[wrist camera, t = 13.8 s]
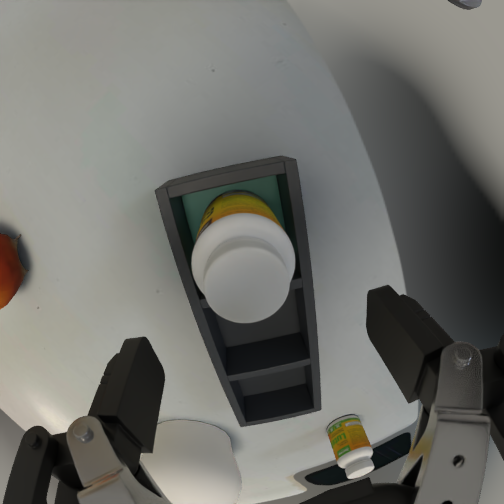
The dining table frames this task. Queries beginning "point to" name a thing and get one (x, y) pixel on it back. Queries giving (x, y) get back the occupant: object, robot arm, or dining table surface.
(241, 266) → the supplement bottle
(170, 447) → the vase
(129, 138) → the dining table surface
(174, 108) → the dining table surface
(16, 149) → the dining table surface
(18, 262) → the fruit
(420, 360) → the robot arm
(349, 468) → the supplement bottle
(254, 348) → the rack
